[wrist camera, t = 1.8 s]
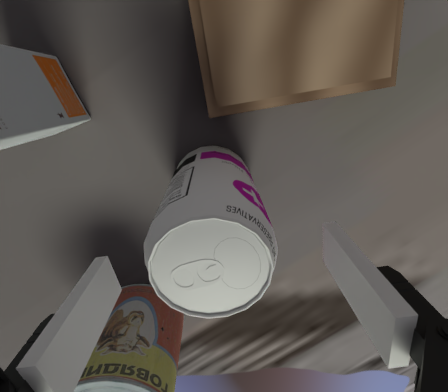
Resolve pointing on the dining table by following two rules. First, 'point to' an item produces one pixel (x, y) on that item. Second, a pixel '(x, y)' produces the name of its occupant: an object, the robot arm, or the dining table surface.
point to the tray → (293, 50)
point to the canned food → (136, 346)
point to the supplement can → (210, 237)
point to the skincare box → (35, 97)
